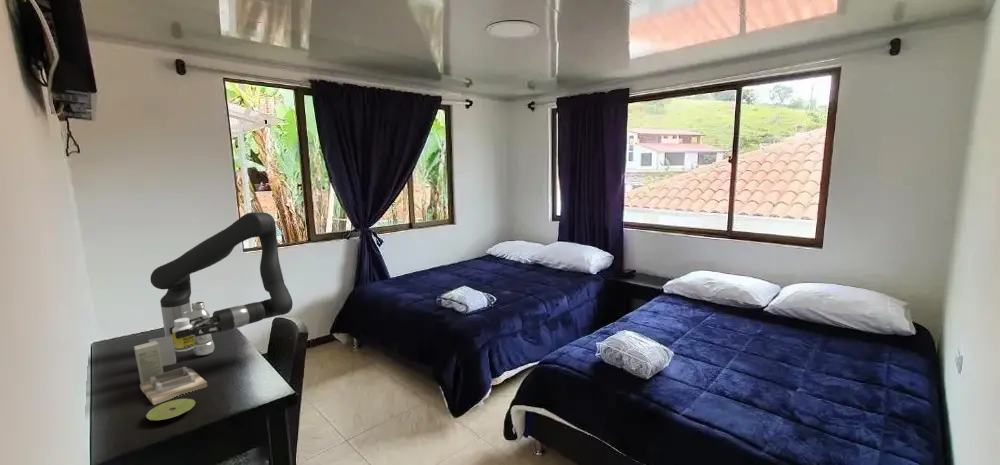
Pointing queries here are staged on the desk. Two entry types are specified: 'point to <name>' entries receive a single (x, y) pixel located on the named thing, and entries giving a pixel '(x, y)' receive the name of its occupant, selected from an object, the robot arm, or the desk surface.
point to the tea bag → (166, 350)
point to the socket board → (172, 384)
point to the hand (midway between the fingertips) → (172, 333)
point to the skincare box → (148, 360)
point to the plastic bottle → (203, 342)
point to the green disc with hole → (170, 409)
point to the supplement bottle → (184, 342)
